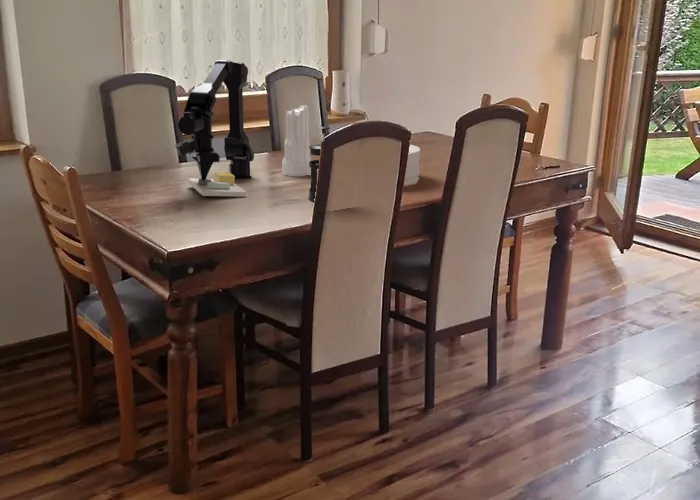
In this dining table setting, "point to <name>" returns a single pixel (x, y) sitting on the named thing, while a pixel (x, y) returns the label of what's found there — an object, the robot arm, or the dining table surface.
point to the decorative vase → (297, 143)
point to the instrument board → (217, 191)
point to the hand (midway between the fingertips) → (203, 179)
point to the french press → (315, 166)
